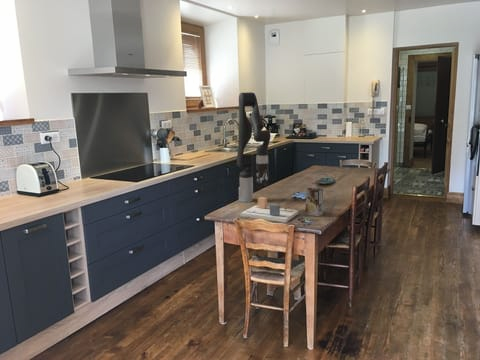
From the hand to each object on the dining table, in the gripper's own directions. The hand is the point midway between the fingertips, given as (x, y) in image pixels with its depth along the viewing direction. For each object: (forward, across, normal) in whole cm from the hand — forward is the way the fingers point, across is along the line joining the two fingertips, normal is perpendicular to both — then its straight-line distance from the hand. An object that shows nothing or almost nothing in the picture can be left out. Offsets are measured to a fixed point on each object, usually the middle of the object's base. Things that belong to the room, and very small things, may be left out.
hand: (262, 187), depth 261 cm
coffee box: (+16, -7, +32) cm, 36 cm away
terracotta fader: (+13, 0, 0) cm, 13 cm away
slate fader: (+13, +12, +14) cm, 22 cm away
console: (+15, +6, +8) cm, 18 cm away
